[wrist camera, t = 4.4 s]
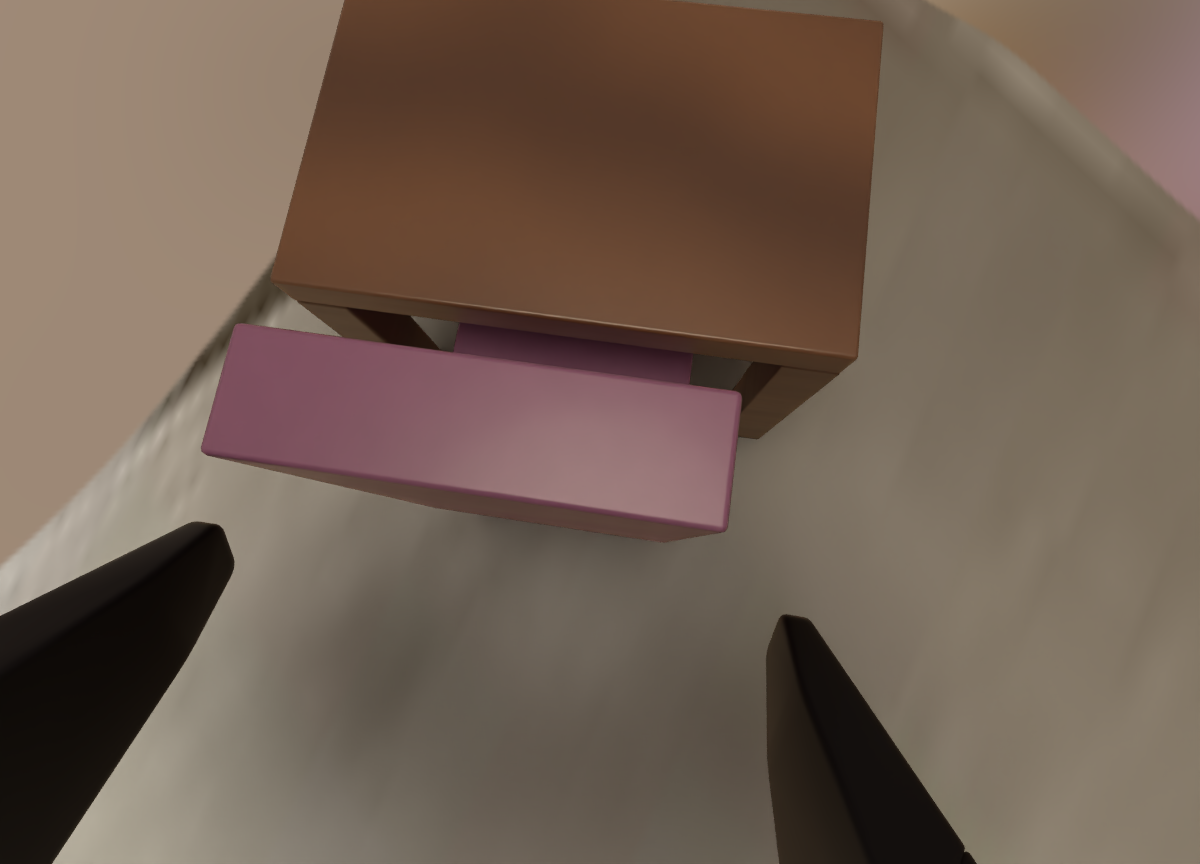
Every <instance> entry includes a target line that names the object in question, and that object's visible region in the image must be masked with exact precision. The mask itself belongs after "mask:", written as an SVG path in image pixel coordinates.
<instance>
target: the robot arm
mask: <svg viewBox="0 0 1200 864" xmlns="http://www.w3.org/2000/svg"><path fill="white" fill-rule="evenodd" d="M233 570H234V557H233V554H232V552H231V549H230V546H229V543H228V541H227V538H226V535H225V532H224V530H223V529H222V527H220V526H219V525H217V524H211V523H205V522H191V523H188V524H186V525H184V526H182V527H180V528H178V529H176V530H174V531H172V532H170V533H168V534H166V535H164V536H162V537H160V538H158V539H156V540H154V541H151V542H149V543H147V544H145V545H143V546H141V547H139V548H137V549H135V550H133V551H131V552H129V553H127V554H125V555H123V556H121V557H119V558H117V559H115V560H113V561H111V562H109V563H107V564H105V565H103V566H101V567H99V568H97V569H95V570H93V571H91V572H89V573H87V574H85V575H82V576H80V577H78V578H76V579H74V580H72V581H70V582H68V583H66V584H64V585H62V586H60V587H58V588H56V589H54V590H52V591H50V592H48V593H46V594H44V595H42V596H40V597H38V598H36V599H34V600H32V601H30V602H28V603H26V604H24V605H22V606H20V607H18V608H15V609H13V610H11V611H9V612H7V613H5V614H3V615H1V616H0V864H52V863H53V861H54V860H55V858H56V857H57V855H58V854H59V852H60V851H61V849H62V848H63V846H64V845H65V843H66V842H67V840H68V839H69V837H70V836H71V834H72V833H73V831H74V830H75V828H76V827H77V825H78V824H79V822H80V821H81V819H82V818H83V816H84V814H85V813H86V811H87V810H88V808H89V807H90V805H91V804H92V802H93V801H94V799H95V798H96V796H97V795H98V793H99V792H100V790H101V789H102V787H103V786H104V784H105V783H106V781H107V780H108V778H109V777H110V775H111V774H112V772H113V771H114V769H115V768H116V766H117V765H118V763H119V762H120V760H121V759H122V757H123V756H124V754H125V752H126V751H127V749H128V748H129V746H130V745H131V743H132V742H133V740H134V739H135V737H136V736H137V734H138V733H139V731H140V730H141V728H142V727H143V725H144V724H145V722H146V721H147V719H148V718H149V716H150V715H151V713H152V712H153V710H154V709H155V707H156V706H157V704H158V703H159V701H160V700H161V698H162V697H163V695H164V693H165V692H166V690H167V689H168V687H169V686H170V684H171V683H172V681H173V680H174V678H175V677H176V675H177V674H178V672H179V671H180V669H181V667H182V666H183V664H184V663H185V661H186V659H187V658H188V656H189V654H190V652H191V651H192V649H193V647H194V645H195V644H196V642H197V640H198V638H199V636H200V634H201V632H202V630H203V628H204V627H205V625H206V623H207V621H208V619H209V617H210V615H211V613H212V611H213V609H214V608H215V606H216V604H217V602H218V600H219V598H220V596H221V594H222V592H223V590H224V589H225V587H226V585H227V583H228V581H229V579H230V577H231V575H232V573H233ZM766 712H767V762H768V773H769V782H770V791H771V799H772V807H773V815H774V824H775V832H776V840H777V849H778V857H779V864H977V863H976V862H975V860H974V859H973V857H972V856H971V855H970V853H968V852H964V850H965V847H964V845H963V843H962V842H961V840H960V839H959V837H958V836H957V834H956V833H955V831H954V830H953V829H952V827H951V826H950V824H949V823H948V821H947V820H946V818H945V817H944V815H943V814H942V812H941V811H940V809H939V808H938V807H937V805H936V804H935V802H934V801H933V799H932V798H931V796H930V795H929V793H928V792H927V790H926V789H925V787H924V786H923V785H922V783H921V782H920V780H919V779H918V777H917V776H916V774H915V773H914V771H913V770H912V768H911V767H910V765H909V764H908V763H907V761H906V760H905V758H904V757H903V755H902V754H901V752H900V751H899V749H898V748H897V746H896V745H895V743H894V742H893V741H892V739H891V738H890V736H889V735H888V733H887V732H886V730H885V729H884V727H883V726H882V724H881V723H880V721H879V720H878V719H877V717H876V716H875V714H874V713H873V711H872V710H871V708H870V707H869V705H868V704H867V702H866V701H865V699H864V698H863V697H862V695H861V694H860V692H859V691H858V689H857V688H856V686H855V685H854V683H853V682H852V680H851V679H850V677H849V676H848V675H847V673H846V672H845V670H844V669H843V667H842V666H841V664H840V663H839V661H838V660H837V658H836V657H835V655H834V654H833V653H832V651H831V650H830V648H829V647H828V645H827V644H826V642H825V641H824V639H823V638H822V636H821V635H820V633H819V632H818V631H817V629H816V628H815V626H814V625H813V623H812V622H811V621H810V620H809V619H807V618H805V617H800V616H793V615H787V614H784V615H782V616H781V617H780V618H779V620H778V622H777V625H776V627H775V630H774V632H773V635H772V638H771V640H770V643H769V645H768V649H767V655H766Z"/></svg>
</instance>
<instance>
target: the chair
mask: <svg viewBox="0 0 1200 864" xmlns="http://www.w3.org/2000/svg"><path fill="white" fill-rule="evenodd" d="M692 361H693V353H686V352H678V351H671V350H663V349H656V348H648V347H641V346H634V345H626V344H619V343H611V342H604V341H596V340H589V339H581V338H574V337H566V336H559V335H551V334H544V333H537V332H529V331H522V330H514V329H507V328H499V327H492V326H484V325H477V324H469V323H462V322H459V326H458V330H457V335H456V340H455V345H454V350H453V352H447V351H440V350H433V349H425V348H418V347H411V346H404V345H396V344H389V343H382V342H374V341H367V340H360V339H352V338H345V337H338V336H331V335H323V334H316V333H309V332H301V331H294V330H287V329H279V328H272V327H265V326H258V325H250V324H236V325H235V327H234V329H233V333H232V336H231V340H230V344H229V347H228V351H227V355H226V358H225V362H224V366H223V369H222V373H221V377H220V380H219V384H218V387H217V391H216V395H215V398H214V402H213V406H212V409H211V413H210V417H209V420H208V424H207V428H206V431H205V435H204V439H203V442H202V446H201V451H202V452H203V453H204V454H206V455H207V456H212V457H216V458H220V459H225V460H229V461H234V462H238V463H242V464H247V465H251V466H255V467H260V468H264V469H268V470H273V471H277V472H282V473H286V474H290V475H295V476H299V477H303V478H308V479H312V480H316V481H321V482H325V483H330V484H334V485H338V486H343V487H347V488H351V489H356V490H360V491H364V492H369V493H373V494H378V495H382V496H386V497H391V498H395V499H399V500H404V501H408V502H412V503H417V504H421V505H425V506H430V507H434V508H440V509H447V510H453V511H460V512H466V513H473V514H479V515H486V516H492V517H499V518H505V519H512V520H519V521H525V522H532V523H538V524H545V525H551V526H558V527H564V528H571V529H578V530H584V531H591V532H597V533H604V534H610V535H617V536H623V537H630V538H636V539H643V540H650V541H656V542H663V543H665V542H670V541H675V540H681V539H687V538H693V537H699V536H704V535H710V534H716V533H721V532H725V531H726V529H727V527H728V521H729V512H730V503H731V494H732V485H733V476H734V467H735V458H736V449H737V440H738V431H739V422H740V413H741V404H742V396H741V393H739V392H737V391H732V390H725V389H717V388H710V387H703V386H695V385H689V384H690V377H691V369H692Z"/></svg>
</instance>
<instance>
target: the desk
mask: <svg viewBox="0 0 1200 864" xmlns="http://www.w3.org/2000/svg"><path fill="white" fill-rule="evenodd" d="M882 37H883V22H881V21H874V20H864V19H854V18H844V17H834V16H824V15H814V14H804V13H794V12H784V11H774V10H764V9H754V8H744V7H734V6H724V5H714V4H704V3H694V2H684V1H674V0H345V1H344V4H343V8H342V11H341V15H340V19H339V23H338V26H337V30H336V34H335V38H334V41H333V46H332V49H331V53H330V56H329V60H328V64H327V68H326V71H325V75H324V79H323V83H322V86H321V90H320V94H319V98H318V101H317V105H316V109H315V113H314V116H313V120H312V124H311V128H310V131H309V135H308V139H307V143H306V146H305V150H304V154H303V158H302V162H301V165H300V169H299V173H298V176H297V180H296V184H295V187H294V191H293V195H292V199H291V202H290V206H289V210H288V214H287V218H286V222H285V225H284V229H283V233H282V237H281V240H280V244H279V247H278V251H277V255H276V259H275V262H274V266H273V270H272V274H271V277H270V280H271V282H272V283H273V284H274V285H276V286H277V287H278V288H280V289H281V290H282V291H284V292H285V293H286V294H287V295H289V296H290V297H291V298H293V299H294V300H297V302H298V303H299V304H301V305H302V306H303V307H305V308H306V309H307V310H309V311H310V312H311V313H312V314H314V315H315V316H316V317H318V318H319V319H320V320H322V321H323V322H324V323H325V324H327V325H328V326H329V327H331V328H332V329H333V330H335V331H336V332H337V333H338V334H340V335H341V336H342V337H345V338H352V339H360V340H367V341H374V342H382V343H389V344H396V345H404V346H411V347H418V348H425V349H433V350H440V349H439V347H438V346H437V345H436V344H435V343H434V342H433V341H432V340H431V338H430V337H429V336H428V335H427V334H426V333H425V332H424V331H423V330H422V328H421V327H420V326H419V325H418V324H417V323H416V322H415V321H414V319H413V318H412V317H411V316H417V317H425V318H432V319H440V320H447V321H454V322H462V323H469V324H477V325H484V326H492V327H499V328H507V329H514V330H522V331H529V332H537V333H544V334H551V335H559V336H566V337H574V338H581V339H589V340H596V341H604V342H611V343H619V344H626V345H634V346H641V347H648V348H656V349H663V350H671V351H678V352H686V353H693V354H701V355H708V356H716V357H723V358H731V359H738V360H746V361H753V362H752V363H751V365H750V366H749V368H748V369H747V370H746V372H745V373H744V375H743V376H742V378H741V379H740V380H739V382H738V383H737V385H736V386H735V388H734V389H733V390H732V391H737V392H739V393H741V396H742V404H741V413H740V422H739V431H738V436H739V437H746V438H753V439H759V438H760V437H762V436H763V435H764V434H765V433H767V432H768V431H769V430H770V429H772V428H773V427H774V426H775V425H776V424H778V423H779V422H780V421H781V420H783V419H784V418H785V417H786V416H788V415H789V414H790V413H791V412H793V411H794V410H795V409H796V408H798V407H799V406H800V405H801V404H803V403H804V402H805V401H806V400H808V399H809V398H810V397H811V396H813V395H814V394H815V393H816V392H818V391H819V390H820V389H821V388H823V387H824V386H825V385H826V384H828V383H829V382H830V381H831V380H833V379H834V378H835V377H836V376H838V375H839V373H840V372H841V371H843V370H844V369H845V368H846V367H848V366H849V365H850V364H851V363H853V362H854V361H855V360H856V359H857V357H858V348H859V335H860V322H861V309H862V296H863V283H864V270H865V257H866V244H867V231H868V218H869V205H870V192H871V179H872V167H873V154H874V141H875V128H876V115H877V102H878V89H879V76H880V63H881V50H882ZM440 351H441V350H440Z"/></svg>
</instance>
